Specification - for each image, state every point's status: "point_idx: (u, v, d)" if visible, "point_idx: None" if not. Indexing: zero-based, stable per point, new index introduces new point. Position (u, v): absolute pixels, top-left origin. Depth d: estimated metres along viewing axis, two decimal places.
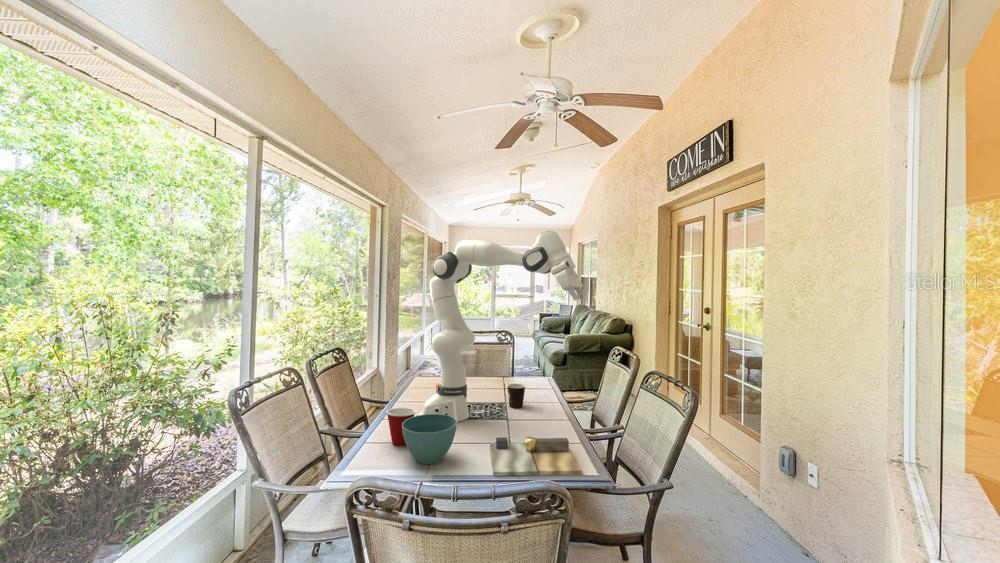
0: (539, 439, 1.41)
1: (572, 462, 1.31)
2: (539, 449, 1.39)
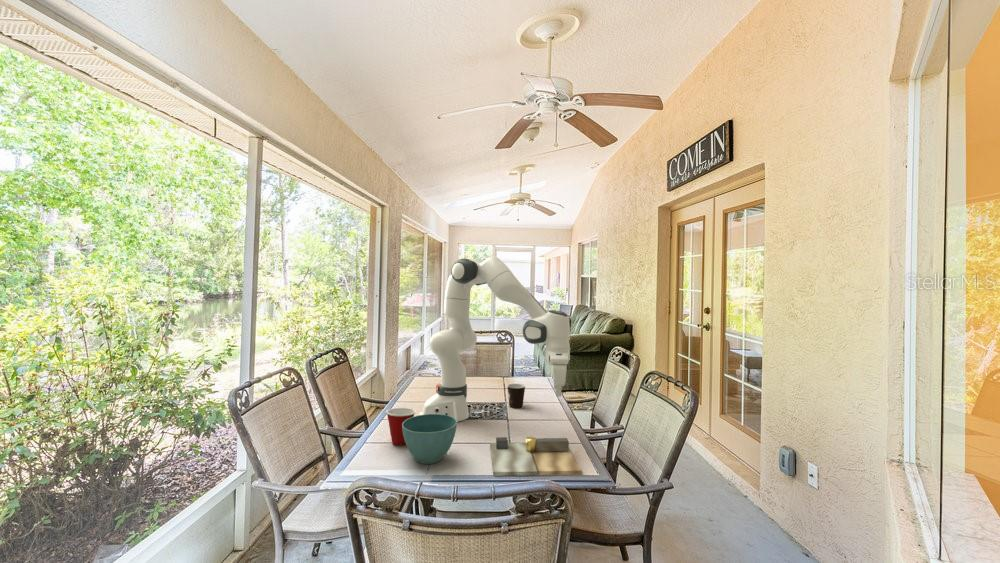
0: (539, 439, 1.41)
1: (572, 462, 1.31)
2: (539, 449, 1.39)
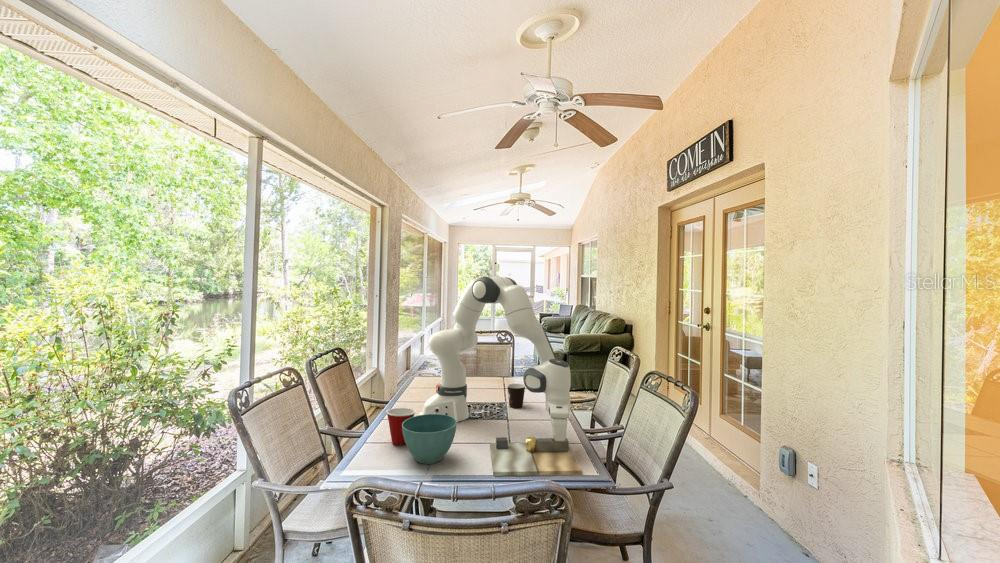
0: (539, 439, 1.41)
1: (572, 462, 1.31)
2: (539, 449, 1.39)
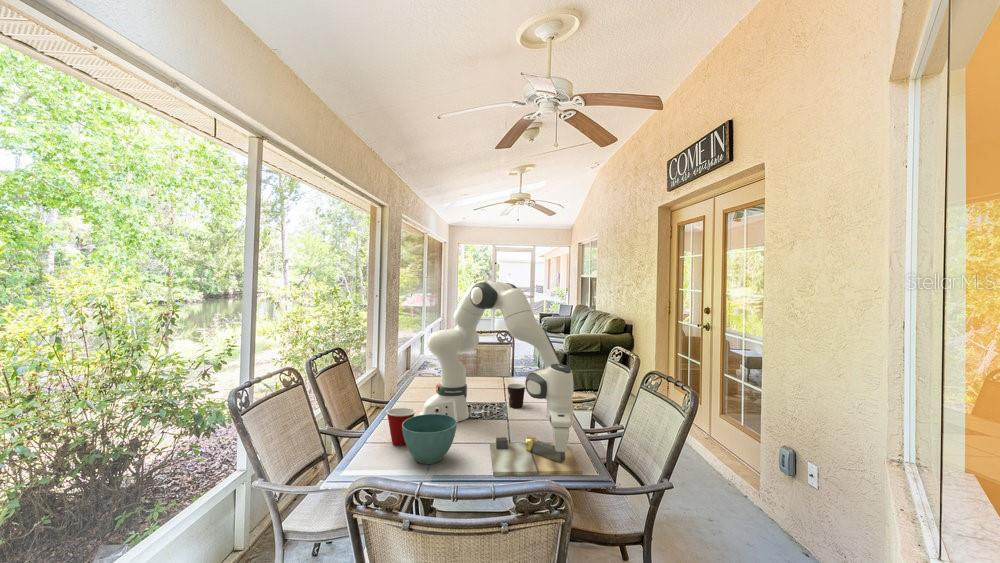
0: (539, 441, 1.38)
1: (572, 462, 1.31)
2: (534, 451, 1.37)
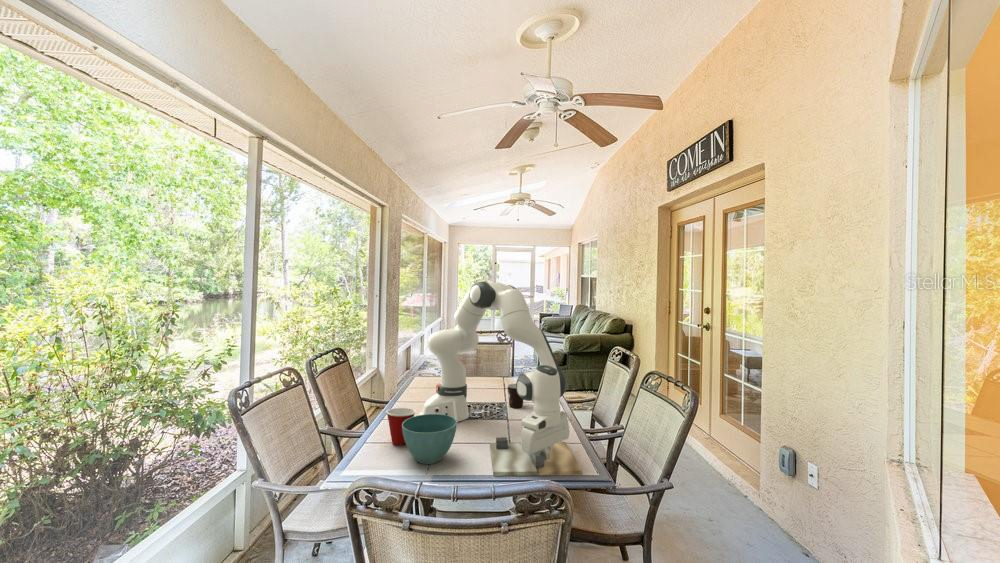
0: None
1: (572, 462, 1.31)
2: None
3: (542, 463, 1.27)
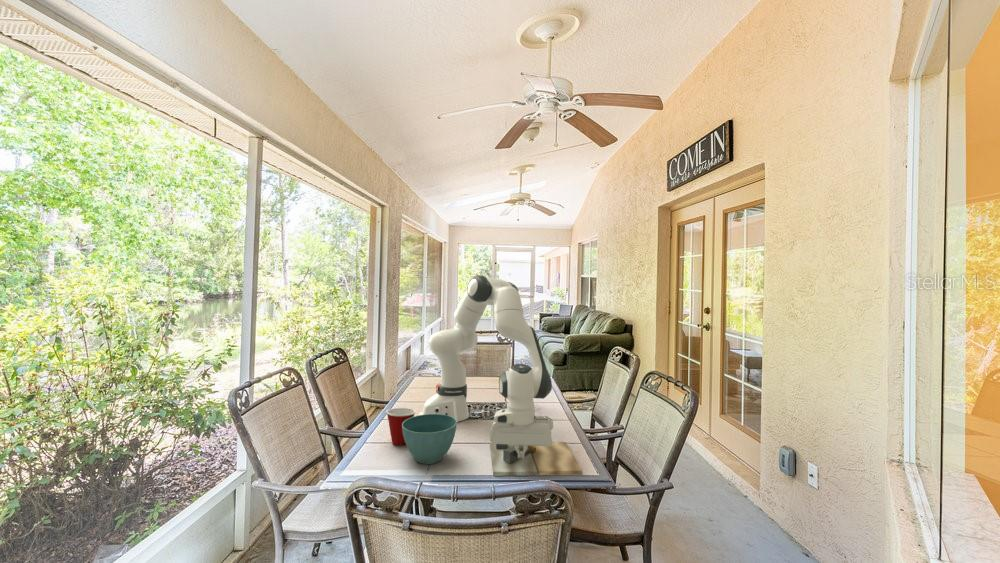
0: None
1: (572, 462, 1.31)
2: None
3: (508, 459, 1.30)
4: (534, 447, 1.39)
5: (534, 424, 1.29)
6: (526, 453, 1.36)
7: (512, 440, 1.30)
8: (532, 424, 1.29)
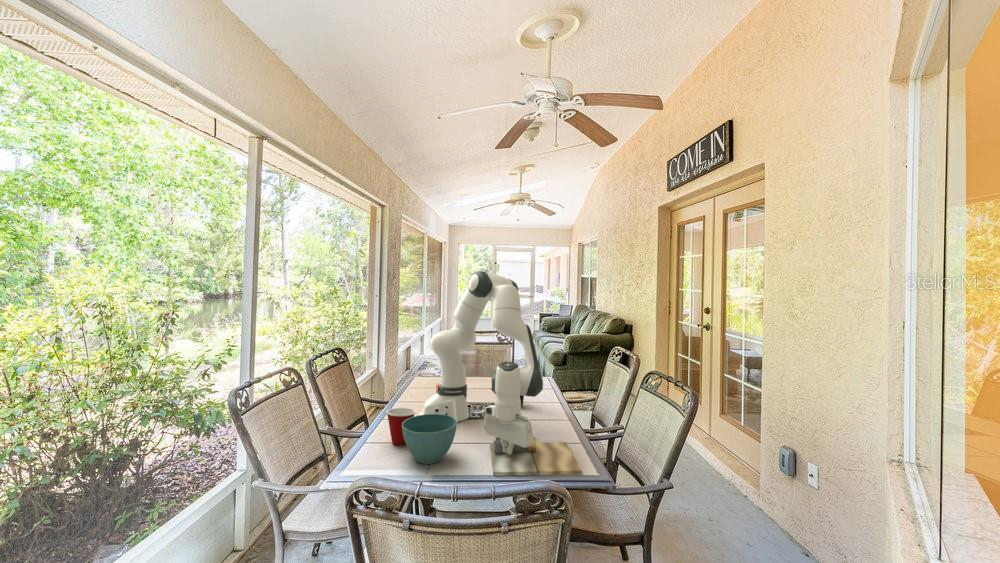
0: None
1: (572, 462, 1.31)
2: None
3: (494, 450, 1.37)
4: (531, 447, 1.38)
5: (513, 422, 1.31)
6: (519, 450, 1.38)
7: (498, 433, 1.36)
8: (512, 422, 1.31)
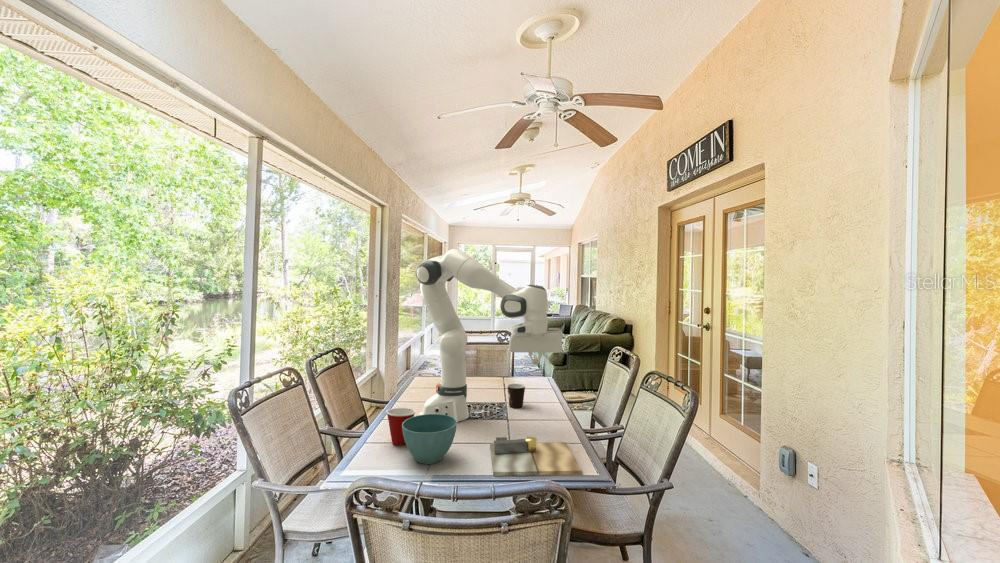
0: (522, 441, 1.39)
1: (572, 462, 1.31)
2: None
3: (494, 450, 1.37)
4: (531, 447, 1.38)
5: (548, 334, 1.51)
6: (519, 450, 1.38)
7: (529, 348, 1.50)
8: (546, 334, 1.51)
